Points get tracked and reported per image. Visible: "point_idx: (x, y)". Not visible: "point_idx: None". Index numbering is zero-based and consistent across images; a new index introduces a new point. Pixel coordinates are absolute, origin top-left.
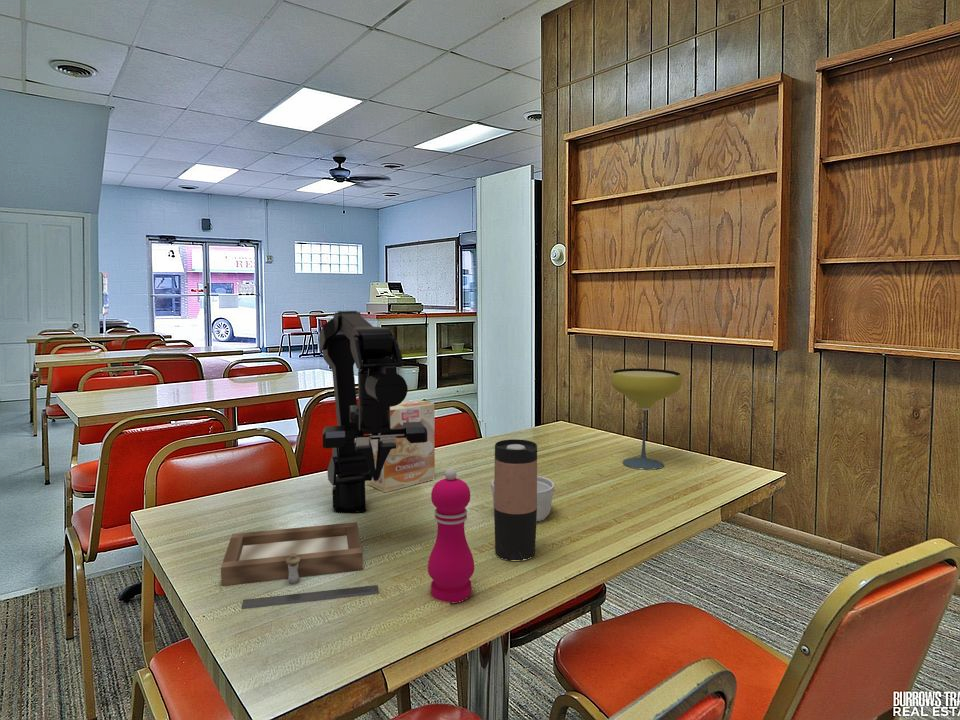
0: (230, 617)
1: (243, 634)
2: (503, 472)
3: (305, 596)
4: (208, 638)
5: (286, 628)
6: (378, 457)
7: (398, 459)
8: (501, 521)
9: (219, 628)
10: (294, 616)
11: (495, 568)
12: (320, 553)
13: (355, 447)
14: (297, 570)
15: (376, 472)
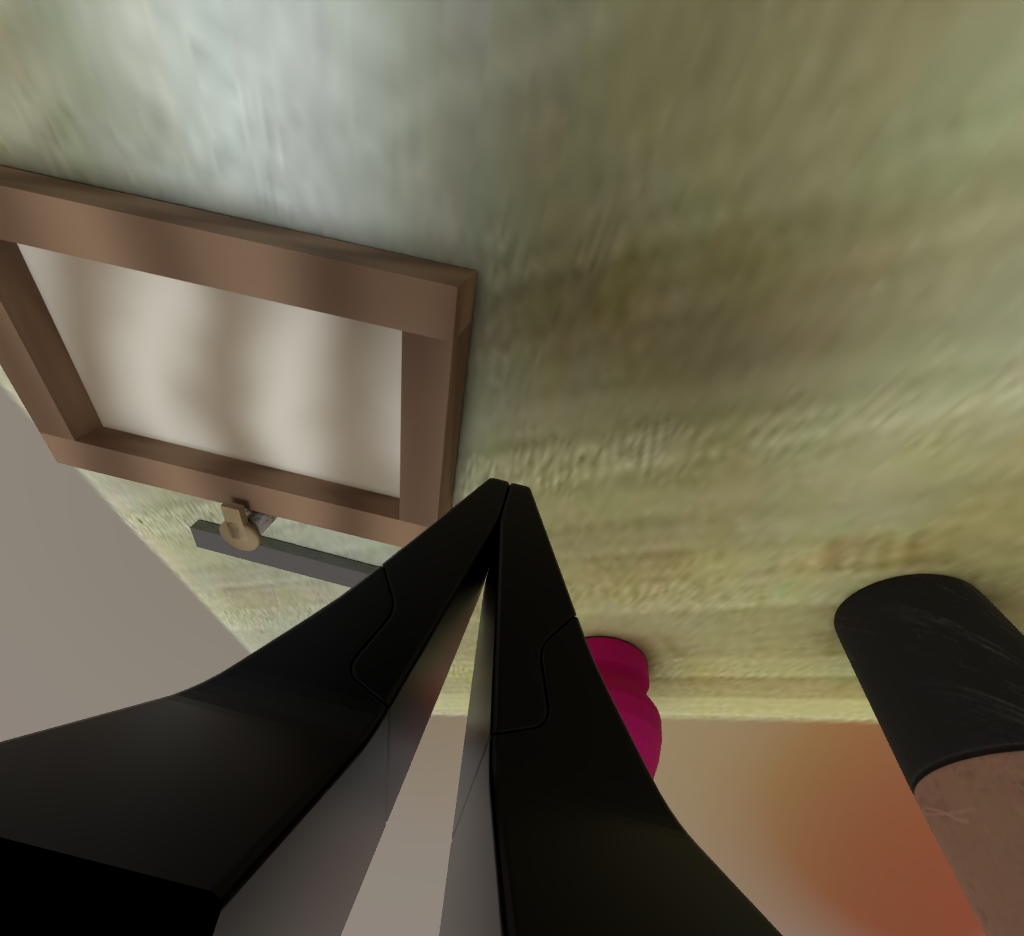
0: (193, 545)
1: (236, 595)
2: None
3: (315, 570)
4: (184, 580)
5: (301, 611)
6: (459, 793)
7: None
8: (894, 747)
9: (189, 565)
10: (308, 591)
11: (771, 640)
12: (313, 507)
13: (24, 927)
14: (270, 523)
15: (483, 599)
